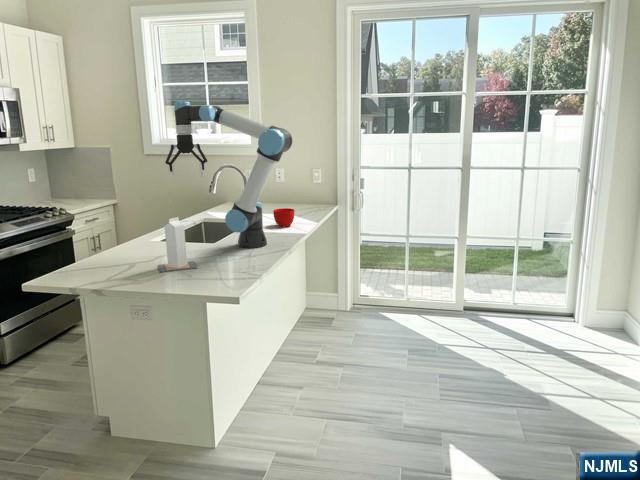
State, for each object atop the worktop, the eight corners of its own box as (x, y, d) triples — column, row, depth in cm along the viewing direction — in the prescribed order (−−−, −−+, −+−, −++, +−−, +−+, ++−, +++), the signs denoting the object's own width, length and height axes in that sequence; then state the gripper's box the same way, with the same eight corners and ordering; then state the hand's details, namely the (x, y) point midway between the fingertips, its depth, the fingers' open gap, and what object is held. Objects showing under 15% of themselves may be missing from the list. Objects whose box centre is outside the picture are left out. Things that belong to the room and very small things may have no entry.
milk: (168, 267, 227) (163, 218, 222) (177, 263, 232) (172, 216, 227) (178, 268, 224) (173, 219, 219) (187, 264, 229) (183, 217, 224)
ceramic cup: (297, 222, 321) (296, 207, 318) (293, 228, 304) (292, 212, 302) (277, 222, 322) (276, 207, 320) (272, 228, 306) (271, 212, 303)
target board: (193, 262, 236) (193, 260, 236) (197, 268, 226) (196, 266, 226) (158, 266, 230) (158, 264, 230) (159, 272, 220) (159, 271, 220)
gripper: (158, 135, 240) (162, 179, 245) (211, 133, 248) (214, 176, 253) (157, 134, 247) (161, 178, 252) (208, 133, 255) (211, 175, 260)
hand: (187, 177), depth 252 cm, fingers open, 13 cm apart
